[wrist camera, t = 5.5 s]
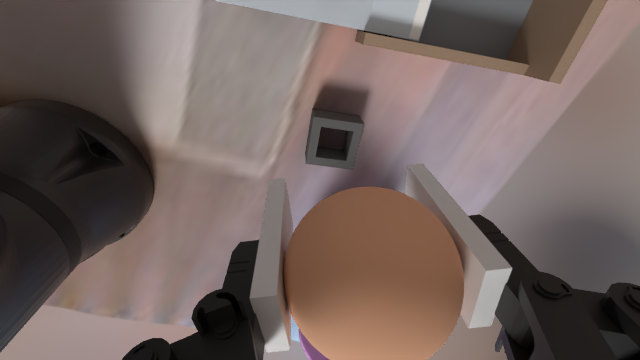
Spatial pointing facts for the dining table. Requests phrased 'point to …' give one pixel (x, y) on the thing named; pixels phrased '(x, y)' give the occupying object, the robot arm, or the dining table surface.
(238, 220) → the dining table surface
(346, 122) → the square sleeve
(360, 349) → the ball
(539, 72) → the ramp with walled tray
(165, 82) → the dining table surface
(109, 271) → the dining table surface
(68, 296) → the dining table surface
